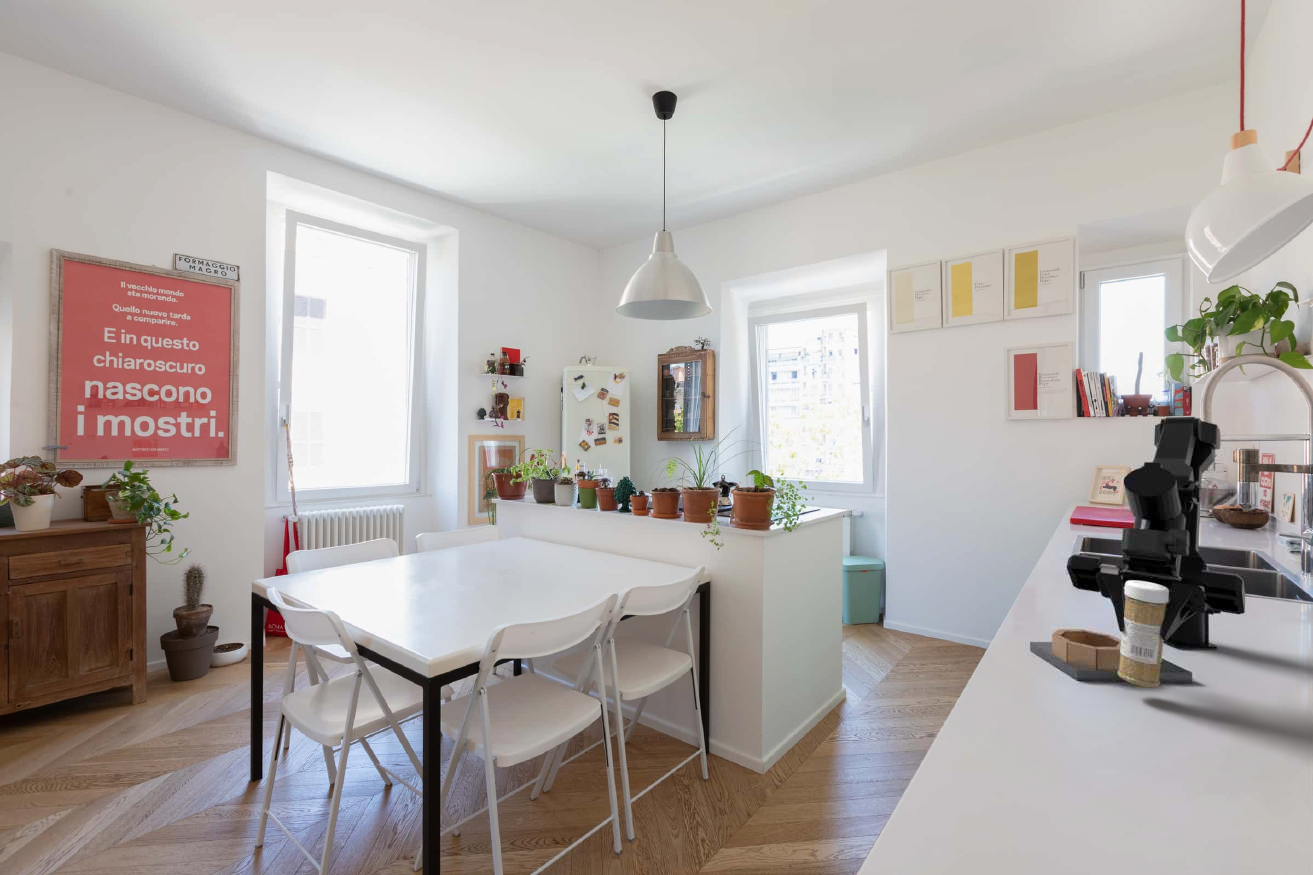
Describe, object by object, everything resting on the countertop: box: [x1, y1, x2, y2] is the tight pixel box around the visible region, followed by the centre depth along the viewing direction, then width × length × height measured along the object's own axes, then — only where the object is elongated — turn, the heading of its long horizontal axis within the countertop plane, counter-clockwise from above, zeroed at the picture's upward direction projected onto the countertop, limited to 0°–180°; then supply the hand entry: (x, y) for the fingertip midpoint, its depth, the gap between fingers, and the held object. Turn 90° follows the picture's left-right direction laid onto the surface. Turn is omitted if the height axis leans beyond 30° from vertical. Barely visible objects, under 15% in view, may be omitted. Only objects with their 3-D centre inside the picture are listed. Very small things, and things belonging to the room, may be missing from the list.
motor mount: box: [1029, 628, 1193, 684], centre depth 91 cm, size 16×12×4 cm
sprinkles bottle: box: [1118, 580, 1169, 688], centre depth 80 cm, size 5×5×14 cm
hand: (1142, 634), depth 79 cm, fingers closed on sprinkles bottle, 4 cm apart
